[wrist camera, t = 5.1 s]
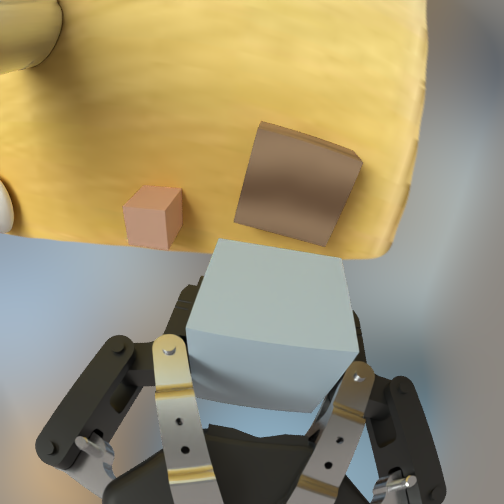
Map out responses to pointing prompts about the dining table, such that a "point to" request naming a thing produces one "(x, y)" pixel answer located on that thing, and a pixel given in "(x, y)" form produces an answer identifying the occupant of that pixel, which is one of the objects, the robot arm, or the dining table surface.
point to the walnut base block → (296, 184)
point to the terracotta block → (153, 216)
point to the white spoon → (5, 210)
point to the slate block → (270, 328)
